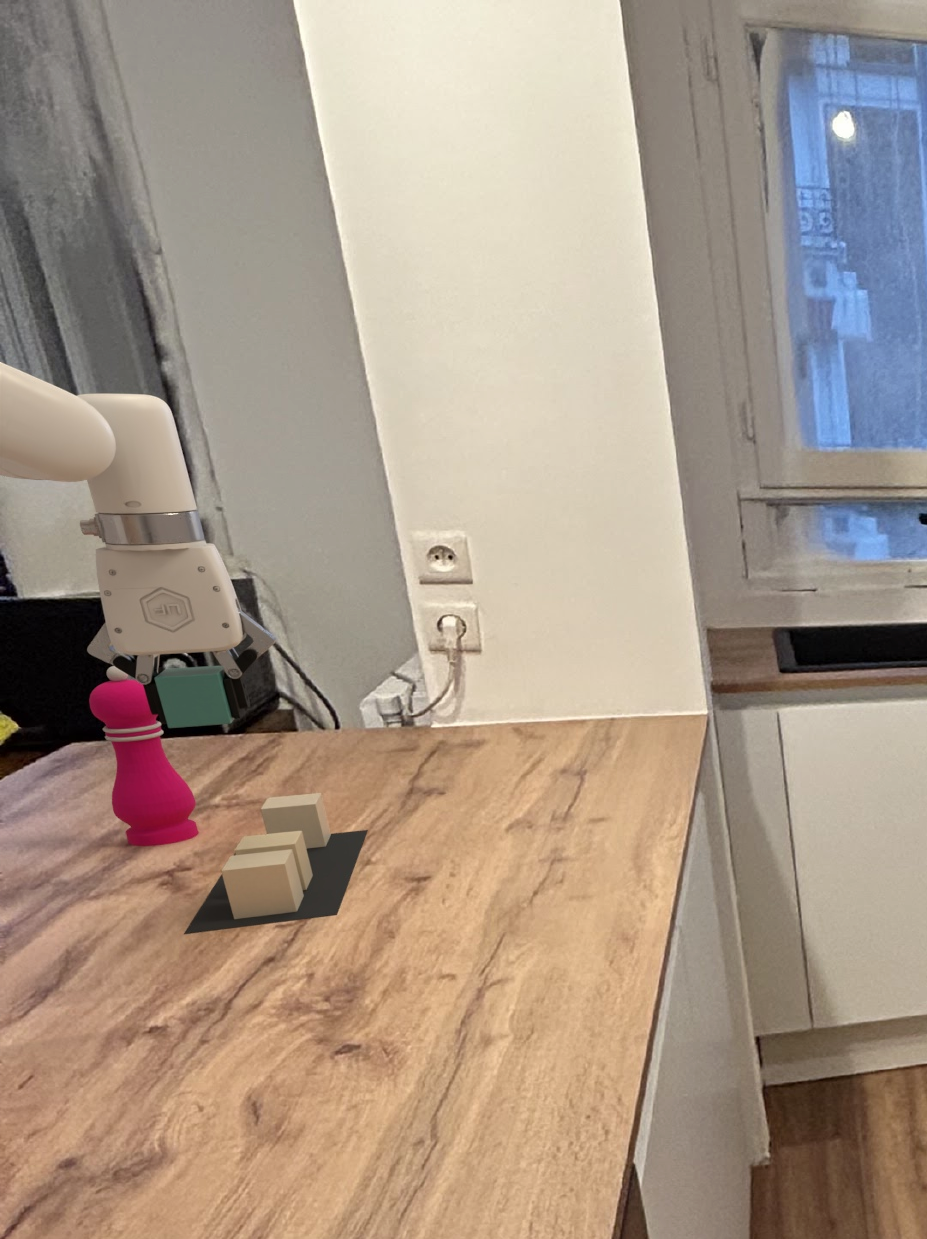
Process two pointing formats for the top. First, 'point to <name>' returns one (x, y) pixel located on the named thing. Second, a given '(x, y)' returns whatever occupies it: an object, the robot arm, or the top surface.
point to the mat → (319, 898)
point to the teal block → (193, 696)
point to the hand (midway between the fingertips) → (203, 716)
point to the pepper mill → (142, 766)
